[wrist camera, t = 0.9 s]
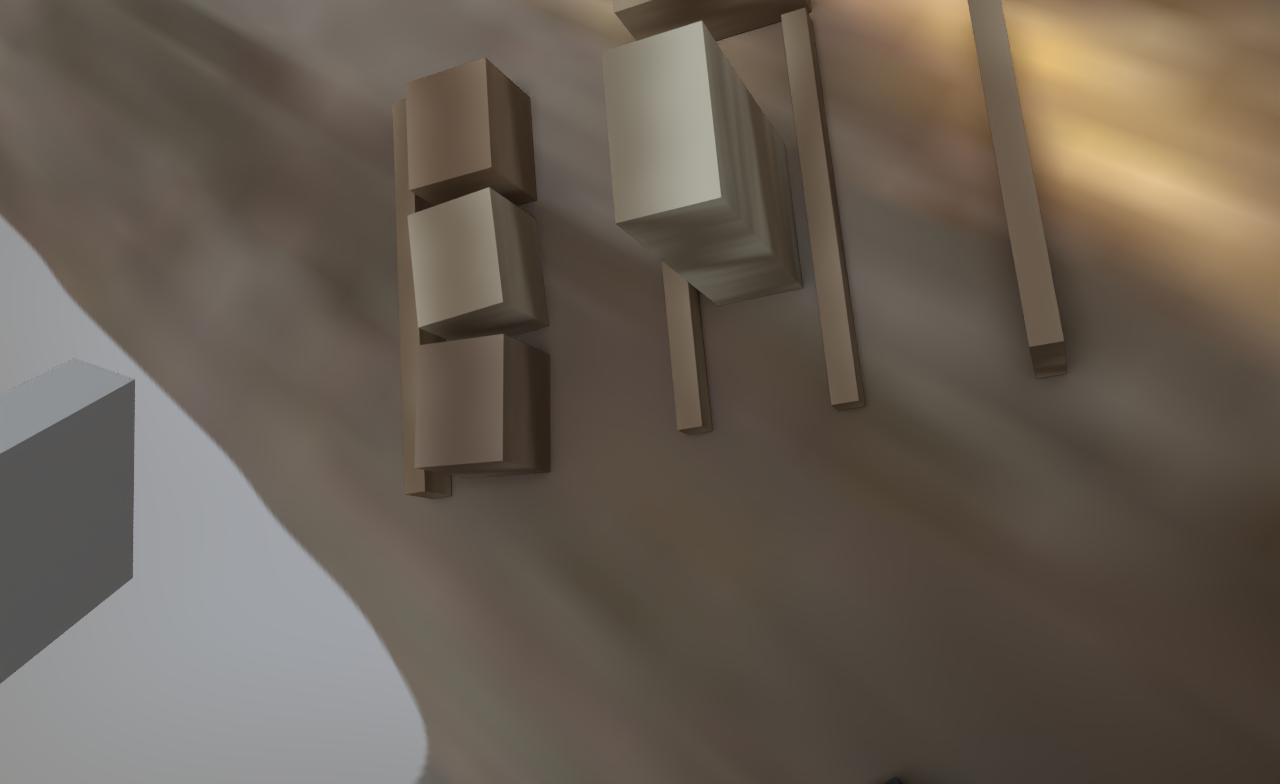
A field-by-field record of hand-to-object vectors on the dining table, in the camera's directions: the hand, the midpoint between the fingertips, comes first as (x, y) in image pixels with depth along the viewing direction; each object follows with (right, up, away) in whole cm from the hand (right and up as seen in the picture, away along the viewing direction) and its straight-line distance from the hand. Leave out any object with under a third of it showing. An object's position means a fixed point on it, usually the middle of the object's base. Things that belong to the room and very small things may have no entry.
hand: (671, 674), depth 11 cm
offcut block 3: (-6, +2, +33) cm, 34 cm away
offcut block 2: (-6, +8, +35) cm, 36 cm away
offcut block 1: (-7, +14, +36) cm, 39 cm away
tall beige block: (+4, +10, +31) cm, 32 cm away
